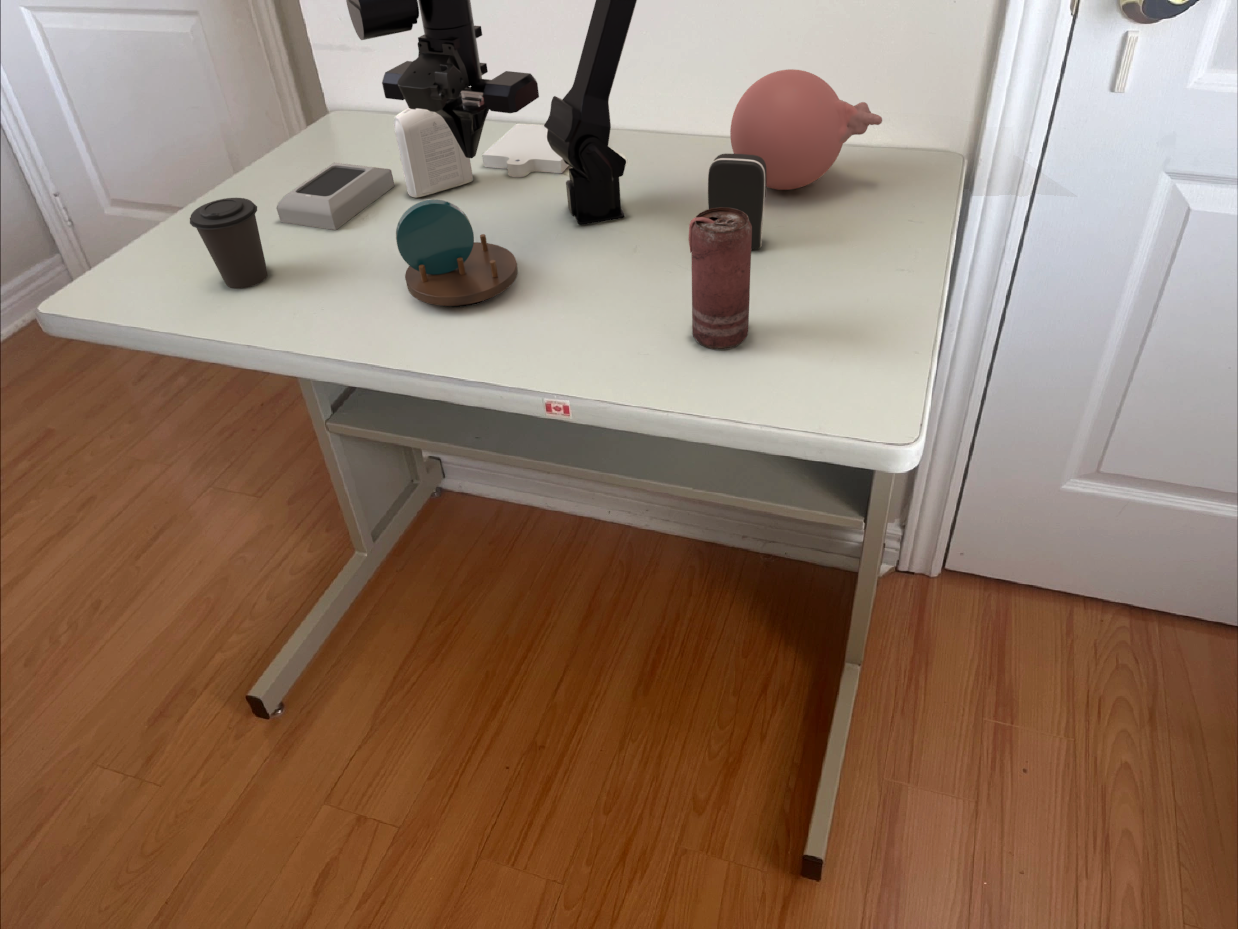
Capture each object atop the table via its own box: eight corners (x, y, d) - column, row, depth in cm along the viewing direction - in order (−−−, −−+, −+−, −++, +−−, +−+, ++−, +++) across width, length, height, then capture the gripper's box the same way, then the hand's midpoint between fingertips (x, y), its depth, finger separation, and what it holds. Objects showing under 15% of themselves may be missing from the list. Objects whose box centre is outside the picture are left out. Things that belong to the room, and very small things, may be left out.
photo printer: (465, 173, 141) (451, 90, 133) (478, 182, 138) (464, 97, 130) (403, 192, 137) (384, 108, 129) (415, 201, 134) (396, 116, 126)
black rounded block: (766, 238, 119) (770, 151, 112) (761, 251, 116) (764, 163, 109) (712, 234, 121) (713, 148, 113) (706, 247, 118) (706, 160, 111)
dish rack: (506, 242, 120) (495, 166, 113) (527, 292, 110) (516, 212, 103) (401, 262, 117) (383, 185, 111) (413, 315, 107) (394, 234, 101)
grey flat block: (389, 161, 137) (328, 205, 126) (394, 185, 139) (335, 230, 129) (336, 155, 140) (272, 197, 129) (342, 178, 142) (280, 221, 132)
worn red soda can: (686, 324, 104) (684, 207, 95) (742, 318, 105) (745, 202, 96) (694, 354, 100) (693, 234, 91) (752, 348, 100) (757, 228, 91)
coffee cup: (219, 300, 115) (190, 226, 109) (209, 273, 121) (181, 201, 115) (284, 282, 118) (260, 208, 111) (271, 257, 124) (247, 185, 117)
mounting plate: (555, 180, 137) (553, 167, 136) (476, 173, 141) (474, 161, 139) (597, 134, 149) (596, 122, 148) (524, 129, 153) (522, 117, 152)
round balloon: (868, 214, 122) (883, 96, 112) (719, 204, 127) (720, 90, 117) (877, 167, 133) (891, 55, 123) (740, 159, 138) (742, 52, 128)
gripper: (337, 37, 103) (370, 172, 113) (478, 50, 96) (500, 193, 106) (398, 9, 110) (424, 139, 120) (532, 19, 103) (548, 156, 113)
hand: (470, 156), depth 115 cm, fingers closed
